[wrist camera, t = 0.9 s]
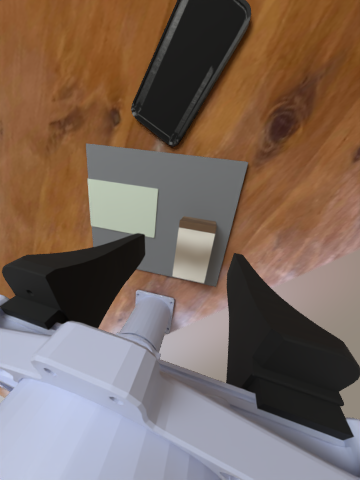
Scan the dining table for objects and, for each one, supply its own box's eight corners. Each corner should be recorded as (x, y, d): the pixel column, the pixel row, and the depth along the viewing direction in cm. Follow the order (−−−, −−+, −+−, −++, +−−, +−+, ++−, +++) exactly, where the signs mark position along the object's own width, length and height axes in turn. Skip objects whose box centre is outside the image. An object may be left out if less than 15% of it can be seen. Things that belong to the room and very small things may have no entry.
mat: (215, 284, 27) (215, 286, 27) (96, 258, 30) (94, 259, 30) (247, 162, 20) (248, 162, 20) (88, 144, 23) (85, 143, 23)
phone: (128, 112, 20) (196, -44, 15) (132, 116, 21) (197, -29, 16) (174, 149, 21) (257, 10, 15) (176, 151, 22) (254, 21, 16)
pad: (158, 188, 23) (157, 188, 23) (154, 237, 26) (154, 237, 26) (88, 178, 24) (87, 178, 24) (91, 225, 27) (91, 225, 27)
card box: (204, 271, 26) (204, 283, 23) (176, 265, 27) (172, 276, 23) (215, 221, 23) (216, 226, 20) (183, 216, 24) (179, 220, 20)
